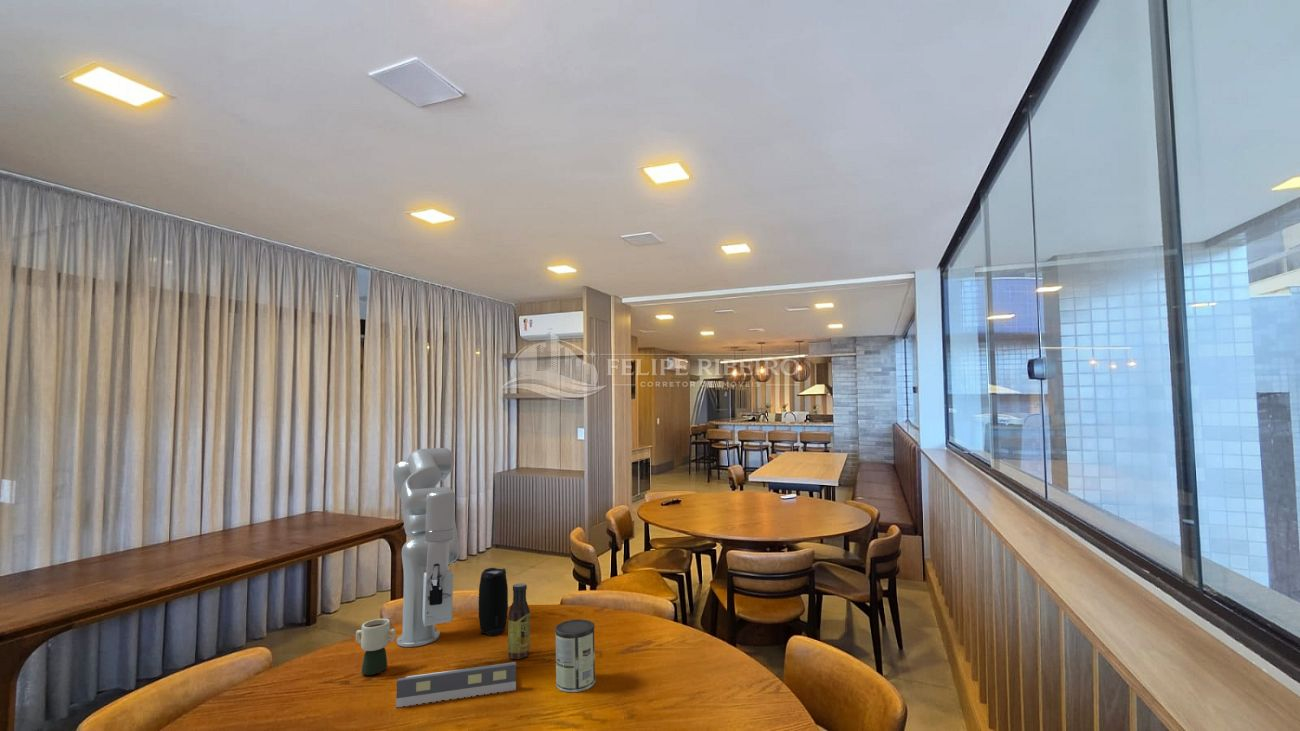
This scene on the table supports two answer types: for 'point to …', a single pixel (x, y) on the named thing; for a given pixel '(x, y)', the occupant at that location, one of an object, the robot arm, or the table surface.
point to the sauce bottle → (519, 624)
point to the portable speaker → (493, 601)
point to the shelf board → (455, 692)
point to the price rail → (455, 680)
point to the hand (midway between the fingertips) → (438, 598)
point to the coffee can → (575, 655)
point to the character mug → (375, 644)
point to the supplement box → (444, 610)
